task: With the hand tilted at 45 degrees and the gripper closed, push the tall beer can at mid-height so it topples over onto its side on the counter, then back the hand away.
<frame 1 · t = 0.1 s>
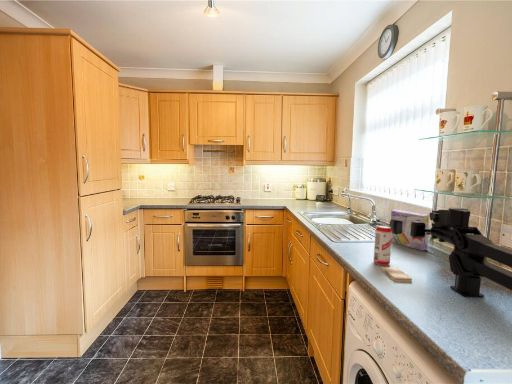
hand: (423, 225, 110), 17 cm above the worktop, tool horizontal, fingers open, 9 cm apart
cake pan box: (406, 245, 136), on the worktop
chopping board: (396, 275, 99), on the worktop
beer can: (381, 263, 111), on the worktop
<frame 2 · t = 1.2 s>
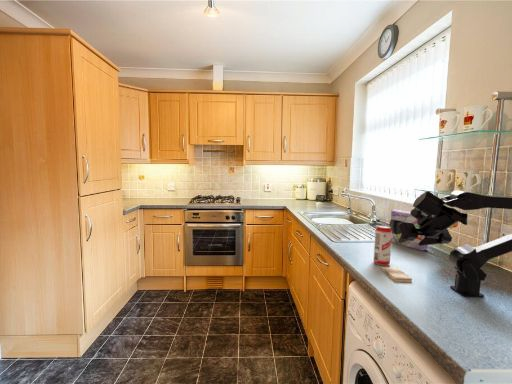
hand: (409, 243, 100), 12 cm above the worktop, tool tilted 45°, fingers open, 9 cm apart
nothing on the worktop moved.
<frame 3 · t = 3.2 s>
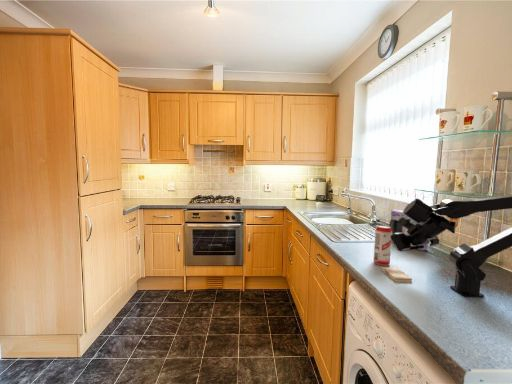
hand: (400, 250, 101), 9 cm above the worktop, tool tilted 45°, fingers closed
nothing on the worktop moved.
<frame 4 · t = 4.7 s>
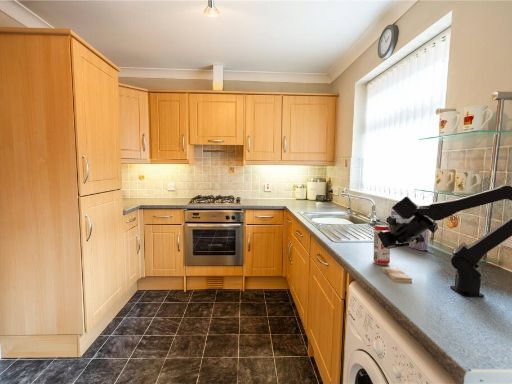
hand: (387, 247, 107), 8 cm above the worktop, tool tilted 45°, fingers closed
beer can: (381, 263, 111), on the worktop, touching gripper
everything else where it was.
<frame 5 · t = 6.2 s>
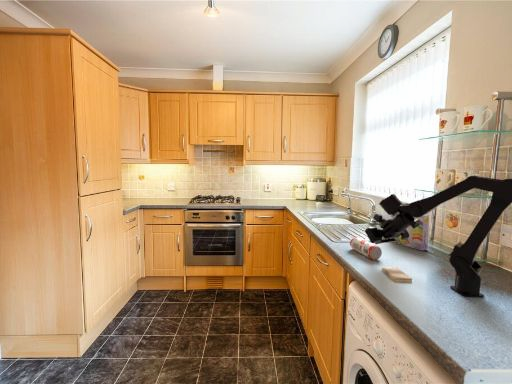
hand: (375, 243, 114), 8 cm above the worktop, tool tilted 45°, fingers closed
beer can: (377, 254, 113), point 3 cm above the worktop
everything else where it was.
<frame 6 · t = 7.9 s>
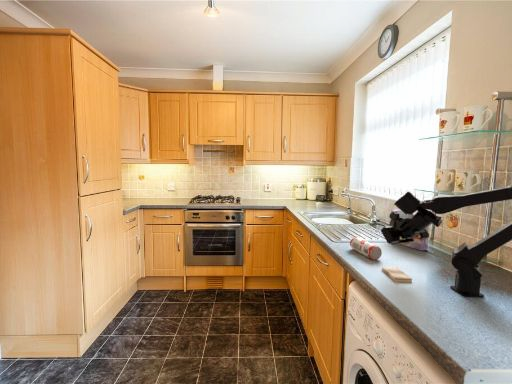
hand: (391, 243, 106), 10 cm above the worktop, tool tilted 45°, fingers closed
nothing on the worktop moved.
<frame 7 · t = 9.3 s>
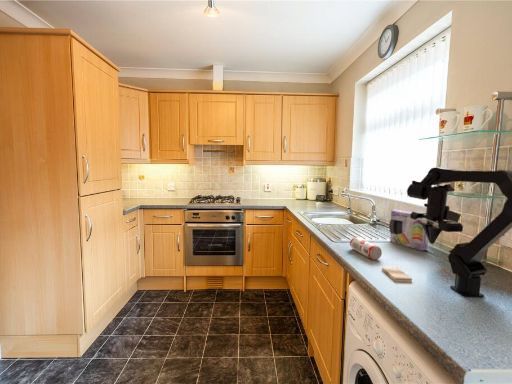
hand: (431, 243, 98), 13 cm above the worktop, tool pointing down, fingers closed
nothing on the worktop moved.
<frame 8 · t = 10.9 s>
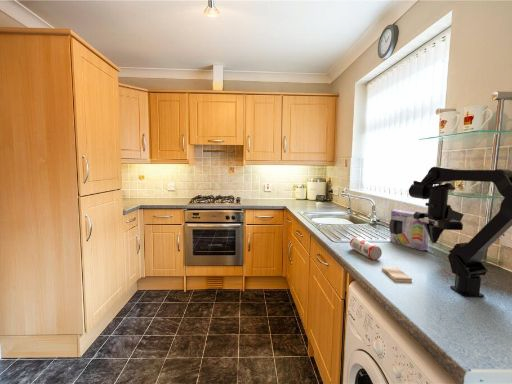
hand: (433, 242, 97), 13 cm above the worktop, tool pointing down, fingers closed
nothing on the worktop moved.
at the end: beer can tilted 90°; beer can inside the target area (3.9 cm from its centre), point 3.1 cm above the worktop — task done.
